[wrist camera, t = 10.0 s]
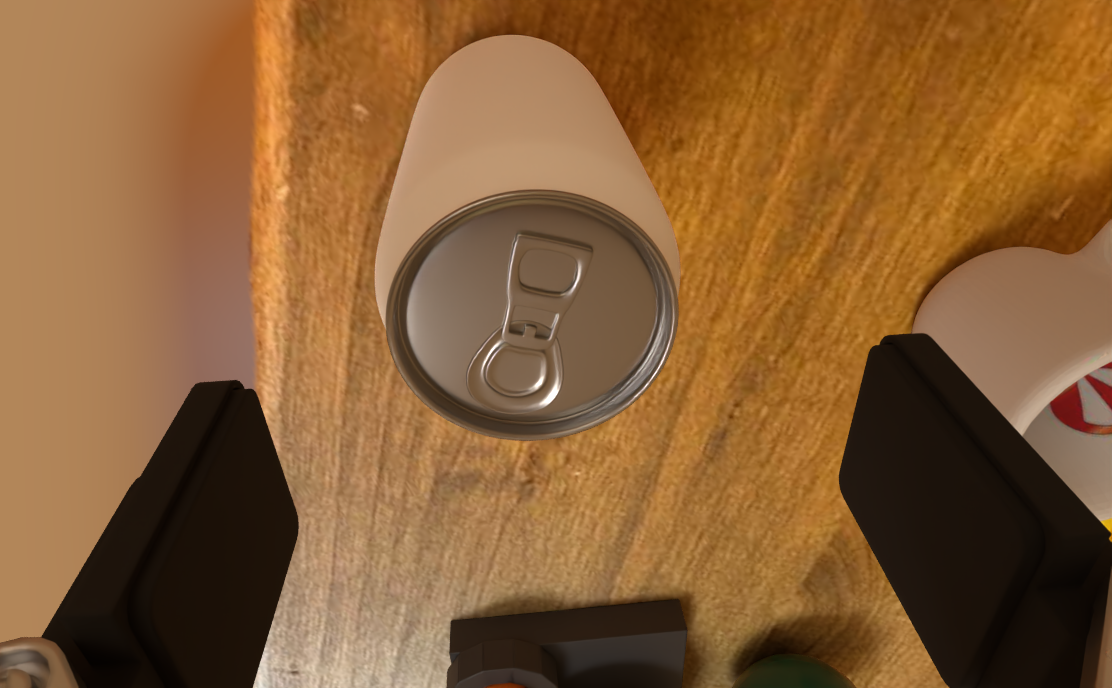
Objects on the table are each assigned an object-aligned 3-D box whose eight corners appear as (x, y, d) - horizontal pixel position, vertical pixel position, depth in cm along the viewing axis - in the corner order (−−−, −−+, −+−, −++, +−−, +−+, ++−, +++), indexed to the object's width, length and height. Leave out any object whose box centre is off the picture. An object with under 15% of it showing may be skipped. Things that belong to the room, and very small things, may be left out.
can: (399, 205, 25) (343, 433, 15) (431, 5, 21) (386, 126, 11) (580, 243, 26) (639, 475, 16) (636, 61, 23) (755, 211, 13)
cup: (1028, 115, 25) (1227, 205, 18) (1182, 196, 27) (1409, 302, 20) (843, 357, 30) (946, 497, 23) (986, 408, 32) (1116, 549, 26)
